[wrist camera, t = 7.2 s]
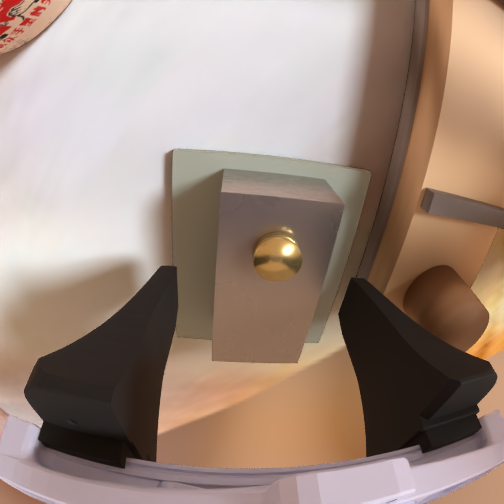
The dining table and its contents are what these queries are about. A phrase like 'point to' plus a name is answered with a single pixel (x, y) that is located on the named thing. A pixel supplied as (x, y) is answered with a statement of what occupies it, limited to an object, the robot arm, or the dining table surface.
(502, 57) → the plane body
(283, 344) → the lever cap
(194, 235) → the felt pad
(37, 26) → the teacup with lid
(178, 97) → the dining table surface
